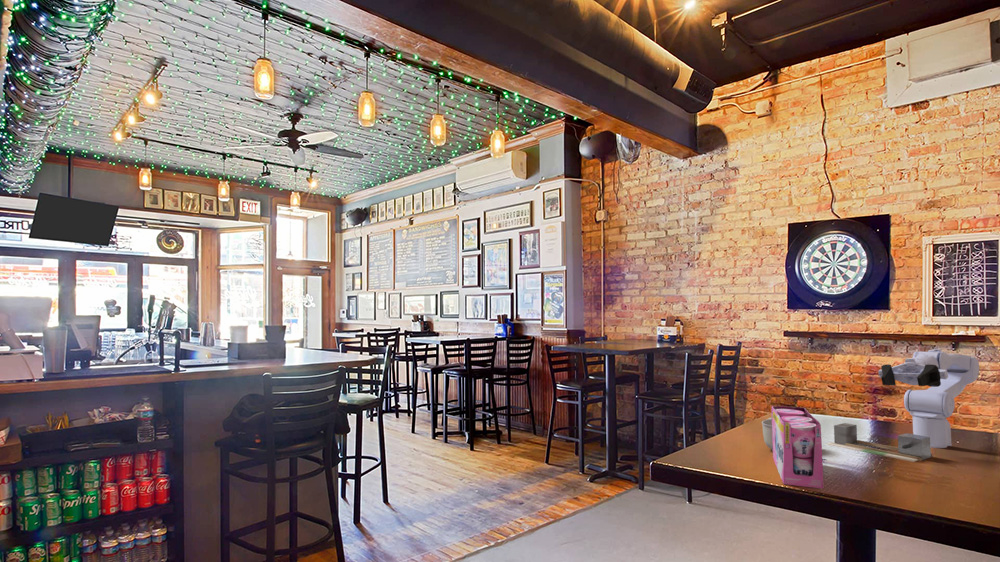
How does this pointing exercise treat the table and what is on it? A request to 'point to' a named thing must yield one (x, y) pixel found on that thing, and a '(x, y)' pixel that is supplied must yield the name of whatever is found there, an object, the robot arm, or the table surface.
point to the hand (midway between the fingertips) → (901, 381)
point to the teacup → (768, 432)
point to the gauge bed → (848, 437)
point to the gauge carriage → (914, 445)
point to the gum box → (797, 446)
